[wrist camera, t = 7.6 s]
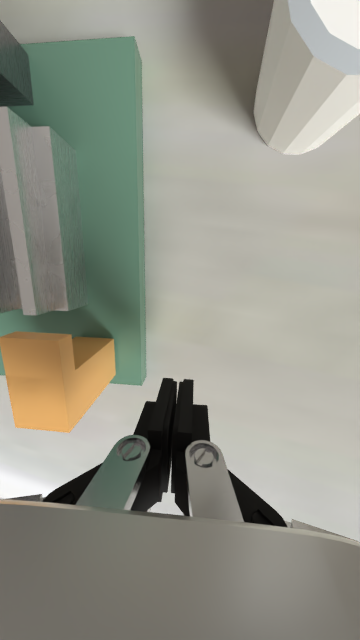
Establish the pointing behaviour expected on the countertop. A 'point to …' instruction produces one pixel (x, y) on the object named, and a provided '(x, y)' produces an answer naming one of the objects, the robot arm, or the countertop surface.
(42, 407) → the block
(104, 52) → the circuit board
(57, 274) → the heat sink
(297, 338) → the countertop surface
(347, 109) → the white grey cylinder
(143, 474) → the robot arm
